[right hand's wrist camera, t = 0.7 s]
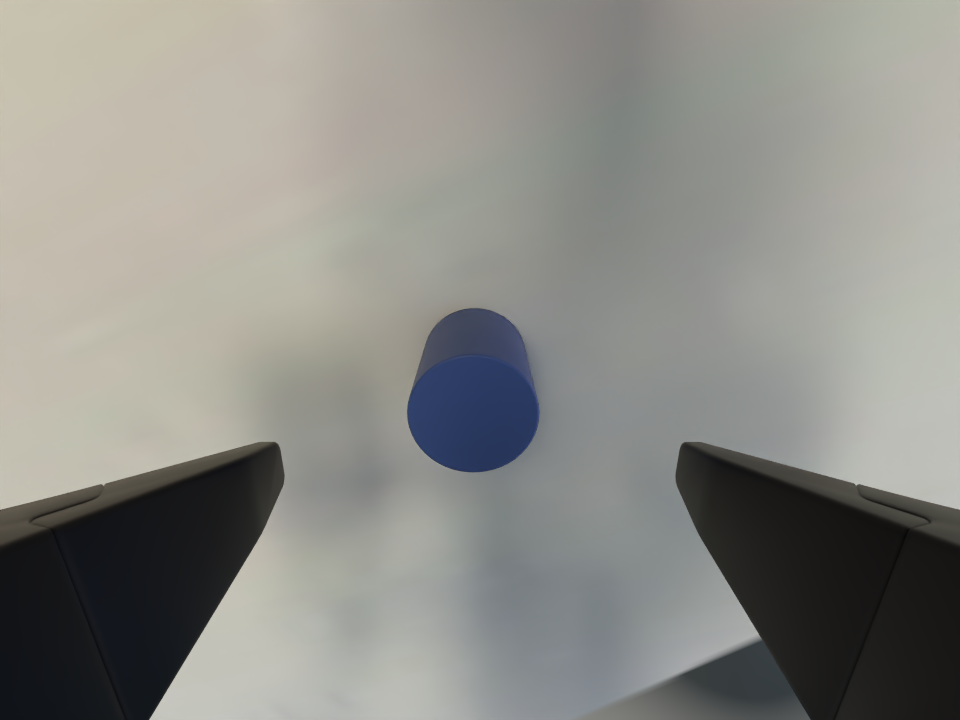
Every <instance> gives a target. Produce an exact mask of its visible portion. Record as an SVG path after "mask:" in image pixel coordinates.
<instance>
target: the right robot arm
mask: <svg viewBox="0 0 960 720" xmlns="http://www.w3.org/2000/svg"><path fill="white" fill-rule="evenodd" d="M283 484H284V469H283V463H282V457H281V451H280V447H279V445H278V444H277V443H276V442H258V443H254V444H251V445H247V446H243V447H240V448H236V449H232V450H228V451H225V452H221V453H217V454H214V455H210V456H206V457H202V458H199V459H195V460H191V461H188V462H184V463H180V464H177V465H173V466H169V467H165V468H162V469H158V470H154V471H151V472H147V473H143V474H140V475H136V476H132V477H128V478H125V479H121V480H117V481H114V482H110V483H106V484H105V485H104V486H103V485H102V484H100V485H96V486H92V487H89V488H85V489H81V490H77V491H74V492H70V493H66V494H62V495H58V496H54V497H50V498H46V499H42V500H38V501H34V502H30V503H26V504H22V505H18V506H14V507H10V508H6V509H2V510H0V720H149V719H150V718H151V716H152V714H153V713H154V711H155V709H156V708H157V706H158V704H159V703H160V701H161V699H162V698H163V696H164V694H165V693H166V691H167V689H168V688H169V686H170V684H171V683H172V681H173V680H174V678H175V676H176V675H177V673H178V671H179V670H180V668H181V666H182V665H183V663H184V661H185V660H186V658H187V656H188V655H189V653H190V651H191V650H192V648H193V647H194V645H195V643H196V642H197V640H198V638H199V637H200V635H201V633H202V632H203V630H204V628H205V627H206V625H207V623H208V622H209V620H210V618H211V617H212V615H213V613H214V612H215V610H216V609H217V607H218V605H219V604H220V602H221V600H222V599H223V597H224V595H225V594H226V592H227V590H228V589H229V587H230V585H231V584H232V582H233V580H234V579H235V577H236V576H237V574H238V572H239V571H240V569H241V567H242V566H243V564H244V562H245V561H246V559H247V557H248V556H249V554H250V552H251V551H252V549H253V547H254V546H255V544H256V542H257V541H258V539H259V537H260V535H261V534H262V532H263V530H264V528H265V526H266V523H267V521H268V519H269V516H270V514H271V512H272V510H273V507H274V505H275V503H276V501H277V498H278V496H279V494H280V492H281V489H282V487H283ZM676 484H677V487H678V489H679V492H680V494H681V496H682V498H683V501H684V503H685V505H686V507H687V510H688V512H689V514H690V516H691V519H692V521H693V523H694V526H695V528H696V530H697V532H698V534H699V535H700V537H701V539H702V541H703V543H704V544H705V546H706V547H707V549H708V551H709V552H710V554H711V556H712V557H713V559H714V561H715V562H716V564H717V566H718V567H719V569H720V571H721V572H722V574H723V576H724V577H725V579H726V580H727V582H728V584H729V585H730V587H731V589H732V590H733V592H734V594H735V595H736V597H737V599H738V600H739V602H740V604H741V605H742V607H743V609H744V610H745V612H746V613H747V615H748V617H749V618H750V620H751V622H752V623H753V625H754V627H755V628H756V630H757V632H758V633H759V635H760V637H761V638H762V640H763V642H764V643H765V645H766V646H767V648H768V650H769V651H770V653H771V655H772V656H773V658H774V660H775V661H776V663H777V665H778V666H779V668H780V670H781V671H782V673H783V675H784V676H785V678H786V680H787V681H788V683H789V684H790V686H791V688H792V689H793V691H794V693H795V694H796V696H797V698H798V699H799V701H800V703H801V704H802V706H803V707H804V709H805V711H806V713H807V714H808V716H809V717H810V719H811V720H960V510H958V509H954V508H950V507H946V506H942V505H938V504H934V503H930V502H926V501H922V500H918V499H914V498H909V497H906V496H902V495H898V494H894V493H890V492H886V491H883V490H879V489H875V488H871V487H868V486H864V485H860V484H858V485H857V486H856V485H855V484H854V483H850V482H846V481H843V480H839V479H835V478H832V477H828V476H824V475H821V474H817V473H813V472H809V471H806V470H802V469H798V468H795V467H791V466H787V465H783V464H780V463H776V462H772V461H769V460H765V459H761V458H758V457H754V456H750V455H746V454H743V453H739V452H735V451H732V450H728V449H724V448H720V447H717V446H713V445H709V444H706V443H702V442H684V443H683V444H682V445H681V447H680V451H679V457H678V463H677V469H676Z"/></svg>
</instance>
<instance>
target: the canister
mask: <svg viewBox="0 0 960 720" xmlns="http://www.w3.org/2000/svg"><path fill="white" fill-rule="evenodd" d="M407 417H408V424H409V428H410V431H411V433H412V436H413V437H414V439H415V441H416V443H417V444H418V445H419V447H420V448H421V449H422V450H423V451H424V453H425V454H427V455H428V456H429V457H430V458H431V459H433V460H434V461H436V462H437V463H439V464H441V465H443V466H445V467H448V468H451V469H454V470H458V471H464V472H483V471H489V470H493V469H496V468H499V467H502V466H504V465H506V464H508V463H510V462H511V461H513V460H514V459H516V458H517V457H518V456H519V455H520V454H521V453H522V452H523V451H524V450H525V449H526V448H527V447H528V445H529V444H530V442H531V441H532V439H533V437H534V435H535V433H536V430H537V427H538V422H539V404H538V400H537V396H536V392H535V388H534V384H533V380H532V375H531V371H530V367H529V363H528V359H527V355H526V351H525V347H524V343H523V340H522V338H521V336H520V334H519V332H518V330H517V329H516V328H515V327H514V325H513V324H512V323H511V322H510V321H508V320H507V319H506V318H504V317H503V316H501V315H499V314H497V313H495V312H492V311H489V310H485V309H464V310H460V311H457V312H454V313H452V314H450V315H448V316H446V317H445V318H444V319H442V320H441V321H440V322H439V323H438V324H437V325H436V326H435V327H434V328H433V330H432V331H431V333H430V335H429V336H428V339H427V341H426V345H425V348H424V351H423V354H422V358H421V361H420V364H419V368H418V371H417V374H416V377H415V381H414V384H413V387H412V390H411V394H410V397H409V401H408V408H407Z"/></svg>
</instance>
